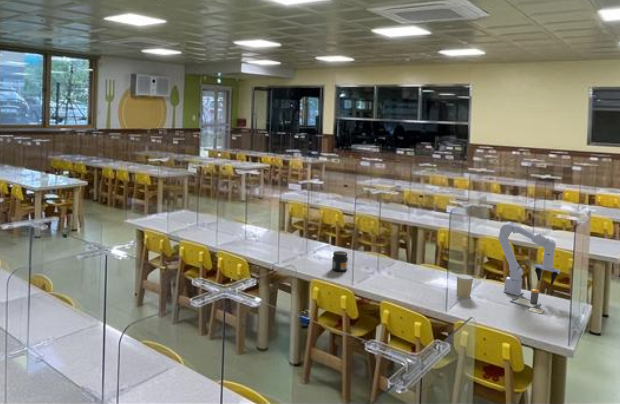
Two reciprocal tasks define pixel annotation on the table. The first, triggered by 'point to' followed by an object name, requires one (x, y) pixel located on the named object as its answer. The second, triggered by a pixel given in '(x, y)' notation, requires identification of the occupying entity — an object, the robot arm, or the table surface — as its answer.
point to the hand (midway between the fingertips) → (545, 282)
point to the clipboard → (524, 302)
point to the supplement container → (339, 261)
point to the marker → (534, 296)
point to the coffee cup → (464, 285)
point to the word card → (535, 310)
